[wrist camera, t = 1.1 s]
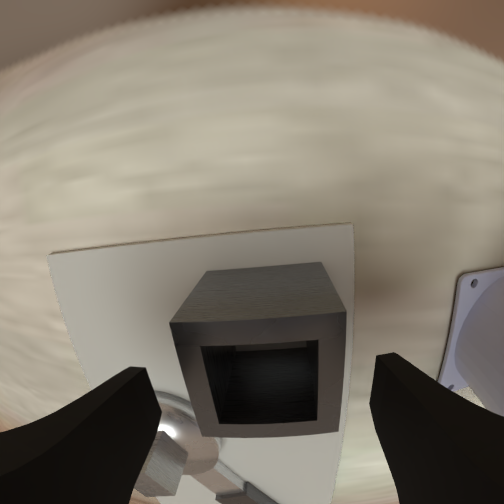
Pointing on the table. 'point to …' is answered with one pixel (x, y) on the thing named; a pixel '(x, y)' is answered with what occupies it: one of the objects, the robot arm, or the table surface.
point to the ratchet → (190, 458)
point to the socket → (263, 351)
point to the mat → (162, 345)
